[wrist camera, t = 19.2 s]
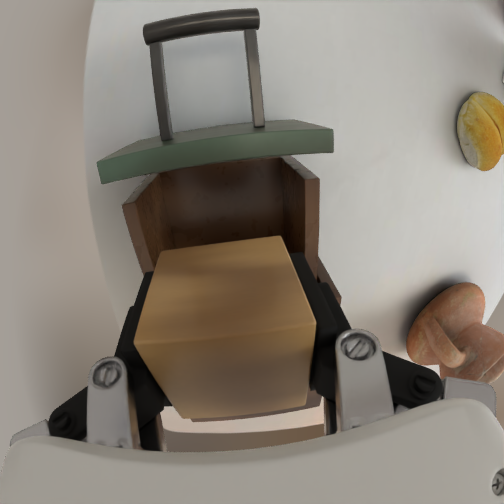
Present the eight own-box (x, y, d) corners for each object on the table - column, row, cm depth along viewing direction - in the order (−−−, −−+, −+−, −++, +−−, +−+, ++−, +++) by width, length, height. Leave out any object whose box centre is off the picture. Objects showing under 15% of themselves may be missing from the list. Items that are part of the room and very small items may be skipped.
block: (187, 333, 12) (181, 419, 8) (160, 250, 10) (131, 342, 6) (283, 321, 12) (306, 406, 8) (281, 234, 10) (317, 321, 6)
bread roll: (502, 138, 19) (525, 147, 16) (468, 176, 22) (492, 189, 18) (482, 78, 16) (508, 82, 12) (444, 112, 18) (473, 119, 15)
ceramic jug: (481, 292, 33) (528, 348, 20) (427, 352, 38) (462, 413, 26) (444, 249, 27) (518, 327, 14) (371, 334, 32) (415, 423, 20)
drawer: (126, 51, 13) (79, 30, 7) (287, 28, 14) (321, -6, 8) (174, 290, 24) (164, 353, 18) (298, 274, 25) (322, 333, 18)
